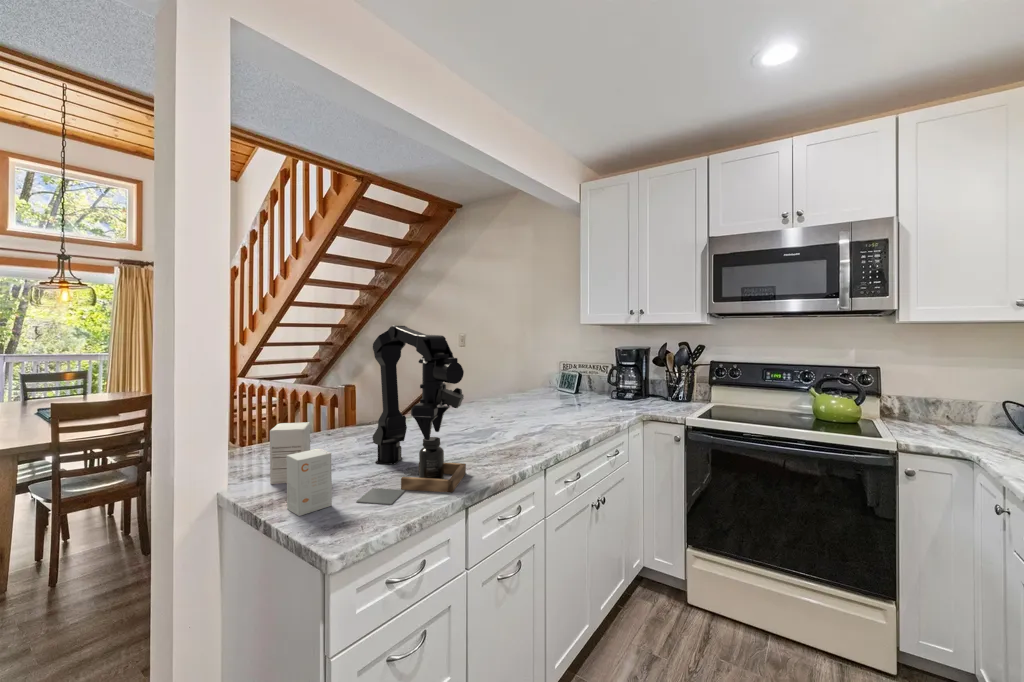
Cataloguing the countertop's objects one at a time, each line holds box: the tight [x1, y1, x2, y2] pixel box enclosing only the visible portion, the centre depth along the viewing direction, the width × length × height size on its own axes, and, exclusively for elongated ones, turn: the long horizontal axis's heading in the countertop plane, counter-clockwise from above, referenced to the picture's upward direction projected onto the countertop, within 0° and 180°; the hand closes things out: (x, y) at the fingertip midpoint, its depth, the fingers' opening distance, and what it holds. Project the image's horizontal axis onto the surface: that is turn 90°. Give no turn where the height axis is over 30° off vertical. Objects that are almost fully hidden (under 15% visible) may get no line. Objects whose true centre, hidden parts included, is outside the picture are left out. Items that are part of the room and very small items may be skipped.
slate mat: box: [356, 487, 406, 506], centre depth 112 cm, size 9×9×1 cm
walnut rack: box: [400, 461, 467, 494], centre depth 124 cm, size 14×15×3 cm
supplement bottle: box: [418, 436, 445, 479], centre depth 124 cm, size 7×7×12 cm
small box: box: [286, 448, 333, 517], centre depth 105 cm, size 8×6×13 cm
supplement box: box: [269, 421, 311, 485], centre depth 125 cm, size 9×9×15 cm
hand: (432, 435), depth 124 cm, fingers open, 9 cm apart
